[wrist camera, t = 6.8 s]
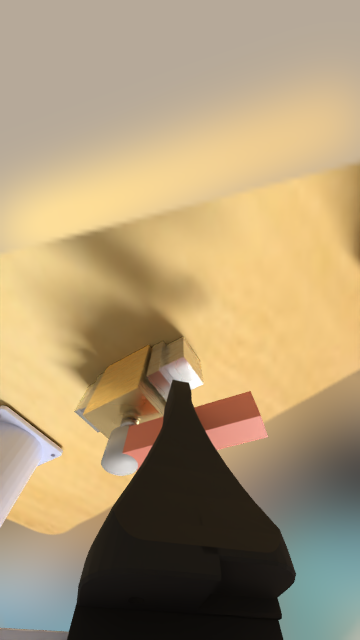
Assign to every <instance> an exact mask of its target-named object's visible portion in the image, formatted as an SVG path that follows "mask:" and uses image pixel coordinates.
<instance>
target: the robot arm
mask: <svg viewBox="0 0 360 640" xmlns="http://www.w3.org/2000/svg"><path fill="white" fill-rule="evenodd" d="M62 452H63V450H62V449H61V448H60V447H59V446H57V445H56V444H55V443H54V442H52V441H51V440H50V439H48V438H47V437H46V436H45V435H43V434H42V433H41V432H40V431H38V430H37V429H36V428H34V427H33V426H32V425H31V424H29V423H28V422H27V421H25V420H24V419H23V418H22V417H20V416H19V415H18V414H16V413H15V412H14V411H13V410H11V409H10V408H9V407H7V406H0V527H1V525H2V524H3V522H4V520H5V519H6V517H7V515H8V514H9V512H10V510H11V509H12V507H13V505H14V504H15V502H16V500H17V499H18V497H19V495H20V494H21V492H22V490H23V489H24V487H25V485H26V484H27V482H28V480H29V478H30V477H31V475H32V473H33V472H34V470H35V468H36V467H37V466H39V465H41V464H43V463H45V462H48V461H50V460H52V459H54V458H57V457H59V456H61V454H62ZM295 576H296V573H295V570H294V567H293V564H292V561H291V558H290V555H289V552H288V549H287V546H286V544H285V542H284V539H283V537H282V534H281V532H280V529H279V528H278V527H277V526H276V525H275V524H274V523H273V522H272V521H271V520H270V518H269V517H268V516H267V515H266V514H265V513H264V512H263V511H262V509H261V508H260V507H259V506H258V505H257V504H256V503H255V502H254V501H253V499H252V498H251V497H250V496H249V494H248V493H247V492H246V491H245V489H244V488H243V487H242V486H241V484H240V483H239V482H238V480H237V479H236V478H235V476H234V475H233V473H232V472H231V471H230V469H229V468H228V467H227V465H226V464H225V462H224V461H223V459H222V458H221V456H220V455H219V453H218V452H217V450H216V448H215V447H214V445H213V444H212V442H211V440H210V438H209V437H208V435H207V433H206V431H205V429H204V427H203V425H202V423H201V421H200V419H199V417H198V415H197V413H196V411H195V408H194V406H193V404H192V401H191V389H190V385H189V383H188V382H183V381H177V380H172V383H171V387H170V390H169V394H168V397H167V401H166V404H165V408H164V416H163V425H162V428H161V430H160V432H159V434H158V436H157V438H156V440H155V442H154V444H153V446H152V447H151V449H150V451H149V453H148V455H147V456H146V458H145V460H144V461H143V463H142V464H141V466H140V468H139V469H138V471H137V472H136V474H135V475H134V477H133V478H132V480H131V481H130V483H129V484H128V486H127V487H126V489H125V490H124V491H123V493H122V494H121V496H120V497H119V498H118V500H117V501H116V503H115V504H114V505H113V507H112V509H111V511H110V513H109V515H108V516H107V518H106V520H105V522H104V524H103V525H102V527H101V529H100V531H99V533H98V535H97V536H96V538H95V540H94V542H93V544H92V546H91V548H90V550H89V552H88V555H87V558H86V561H85V564H84V568H83V572H82V575H81V579H80V583H79V587H78V597H77V604H76V608H75V611H74V615H73V619H72V622H71V626H70V630H69V632H64V631H47V630H45V631H44V630H27V629H11V628H0V640H283V637H282V633H281V629H280V625H279V621H278V620H280V619H281V618H282V614H281V609H280V606H279V602H278V599H277V597H279V596H280V595H281V594H282V593H283V592H285V591H286V590H287V589H288V588H289V587H290V586H291V585H292V584H293V583H294V580H295Z"/></svg>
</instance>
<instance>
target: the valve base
mask: <svg viewBox="0 0 360 640" xmlns="http://www.w3.org/2000/svg"><path fill="white" fill-rule="evenodd" d="M172 380H177V381H183V382H188V383H189V385H190V389H194V388H196V387H198V386H200V385H202V384H203V377H202V370H201V363H200V360H199V359H198V357H197V356H196V354H195V353H194V351H193V350H192V348H191V347H190V346H189V344H188V343H187V341H186V340H185V338H184V337H181V338H179V339H178V340H176V341H174V342H172V343H170V344H168V345H166V344H165V342H164V341H162V342H160V343H158V344H156V345H154V346H153V349H152V348H151V347H150V345H147V346H145V347H144V348H142V349H140V350H138V351H136V352H134V353H133V354H131V355H129V356H127V357H125V358H123V359H121V360H120V361H118V362H116V363H114V364H112V365H110V366H108V367H107V368H106V370H105V372H104V373H102V374H100V375H99V376H98V378H97V379H96V381H95V383H94V384H92V385H90V386H89V387H88V389H87V390H86V392H85V394H84V396H83V397H82V399H81V401H80V403H79V404H78V406H77V408H76V410H75V411H74V412H76V413H77V414H78V415H79V416H80V417H81V418H82V419H83V420H84V421H86V422H87V423H88V424H89V425H90V426H91V427H92V428H93V429H95V430H96V431H97V432H101V433H102V434H104V435H105V436H106V437H107V438H108V439H109V437H110V434H111V432H112V431H113V430H114V429H115V428H117V427H121V426H133V425H136V424H140V423H143V422H146V421H150V420H153V419H157V418H160V417H163V416H164V408H165V404H166V401H167V397H168V394H169V390H170V387H171V383H172Z"/></svg>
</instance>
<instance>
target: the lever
mask: <svg viewBox="0 0 360 640" xmlns="http://www.w3.org/2000/svg"><path fill="white" fill-rule="evenodd" d="M194 408H195V411H196V413H197V415H198V417H199V419H200V421H201V423H202V425H203V427H204V429H205V431H206V433H207V435H208V437H209V438H210V440H211V442H212V444H213V445H214V447H215V448H216V450H218V449H222V448H227V447H231V446H234V445H239V444H242V443H246V442H250V441H254V440H258V439H262V438H266V437H268V436H267V433H266V430H265V427H264V424H263V421H262V418H261V415H260V413H259V410H258V408H257V405H256V403H255V401H254V398H253V396H252V394H251V391H249V392H246V393H242V394H239V395H235V396H232V397H229V398H225V399H222V400H218V401H215V402H212V403H208V404H205V405H201V406H198V407H194ZM162 425H163V417H160V418H157V419H153V420H150V421H146V422H143V423H140V424H136V425H133V426H121V427H117V428H115V429H114V430H113V431H112V432H111V434H110V437H109V440H108V443H107V446H106V449H105V452H104V455H103V458H102V461H101V465H102V467H103V468H104V470H106V471H107V472H109V473H111V474H114V475H119V476H124V475H129V474H132V473H134V472H135V471H136V470H138V469H139V468H140V466H141V464H142V463H143V461H144V460H145V458H146V456H147V455H148V453H149V451H150V449H151V447H152V446H153V444H154V442H155V440H156V438H157V436H158V434H159V432H160V430H161V428H162Z"/></svg>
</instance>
